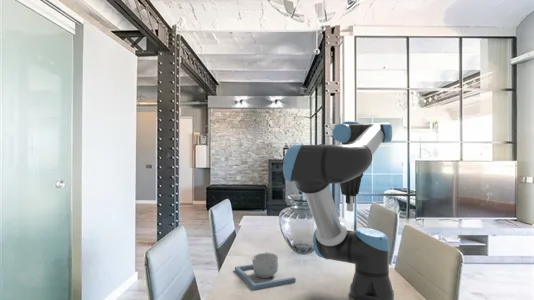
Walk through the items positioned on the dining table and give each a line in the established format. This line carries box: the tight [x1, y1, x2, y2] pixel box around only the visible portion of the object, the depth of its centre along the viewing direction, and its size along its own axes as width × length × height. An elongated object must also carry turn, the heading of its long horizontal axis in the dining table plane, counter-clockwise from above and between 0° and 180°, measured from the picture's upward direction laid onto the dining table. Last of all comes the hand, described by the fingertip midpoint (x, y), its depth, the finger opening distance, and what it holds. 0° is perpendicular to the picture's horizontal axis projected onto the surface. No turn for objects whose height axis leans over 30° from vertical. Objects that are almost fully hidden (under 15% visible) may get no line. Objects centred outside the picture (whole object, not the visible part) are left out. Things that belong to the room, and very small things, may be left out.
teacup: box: [251, 251, 279, 279], centre depth 135 cm, size 14×11×8 cm
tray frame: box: [234, 263, 296, 291], centre depth 132 cm, size 22×18×2 cm
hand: (349, 210), depth 139 cm, fingers closed
